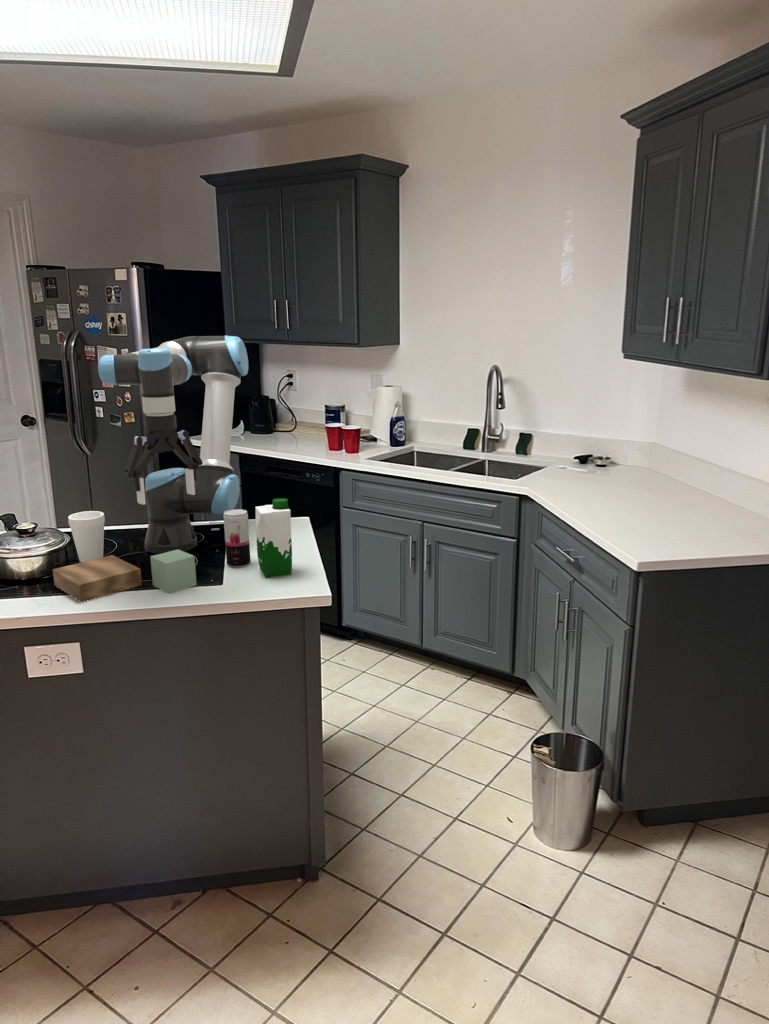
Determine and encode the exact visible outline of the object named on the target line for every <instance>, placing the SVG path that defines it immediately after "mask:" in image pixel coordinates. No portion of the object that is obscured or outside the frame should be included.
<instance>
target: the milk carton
mask: <svg viewBox="0 0 769 1024" xmlns="http://www.w3.org/2000/svg"><path fill="white" fill-rule="evenodd" d="M271 502H272V504H264V505H259V506H255V507H254V508H255V536H256V551H257V552H256V554H257V560H258V565H259V570H260V572H261V573H262V575H263V576H264V578H265V579H268V578H276V577H277V578H278V577H283V576H285V577H286V576H291V575H293V546H292V545H293V543H292V521H291V519H292V517H291V513H292V512H291V509H290V507H289V500H288V498H284V497H277V498H273V499H272V501H271Z"/></svg>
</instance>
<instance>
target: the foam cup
mask: <svg viewBox="0 0 769 1024" xmlns="http://www.w3.org/2000/svg"><path fill="white" fill-rule="evenodd" d="M67 518H68V520H67V521H68V526H69V527H70V531H71V535H72V538H73V542H74V545H75V549H76V553H77V557H78V560H79V563H81V562H85V561H89V560H94V559H98V558H102V557H104V547H105V546H104V545H105V544H104V539H105V538H104V537H105V522H106V519H105V513H104V512H102V511H99V510H89V511H87V510H86V511H80V512H76V513H72V514H70V515H68V517H67Z"/></svg>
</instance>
